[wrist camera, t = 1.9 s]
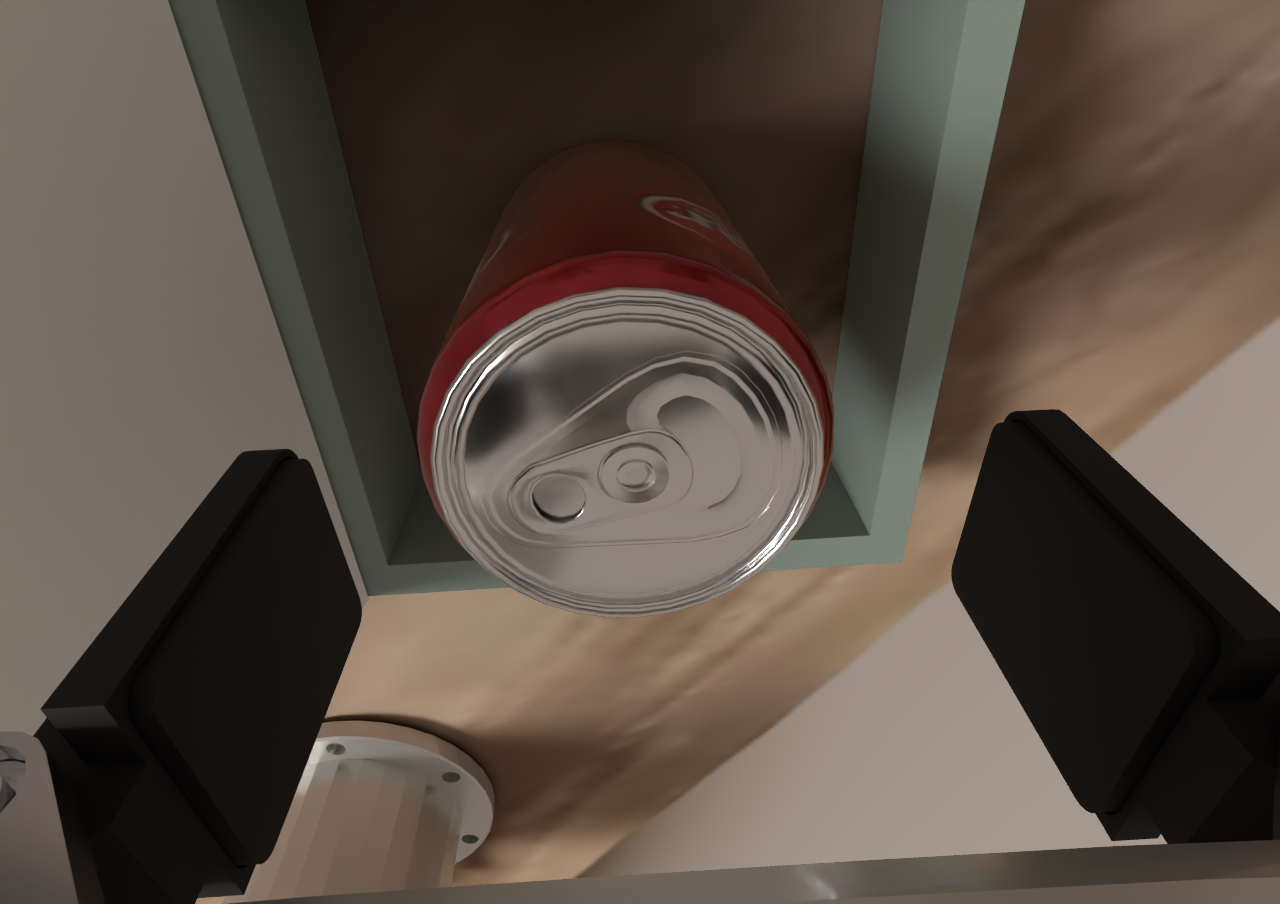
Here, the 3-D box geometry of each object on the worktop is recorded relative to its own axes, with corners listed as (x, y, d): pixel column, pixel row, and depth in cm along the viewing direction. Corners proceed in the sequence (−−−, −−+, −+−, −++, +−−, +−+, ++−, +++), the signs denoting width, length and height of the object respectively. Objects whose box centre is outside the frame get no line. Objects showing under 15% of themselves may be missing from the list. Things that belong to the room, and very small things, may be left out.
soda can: (705, 105, 20) (825, 206, 9) (745, 338, 23) (861, 587, 13) (460, 173, 20) (325, 336, 10) (539, 389, 24) (498, 664, 14)
